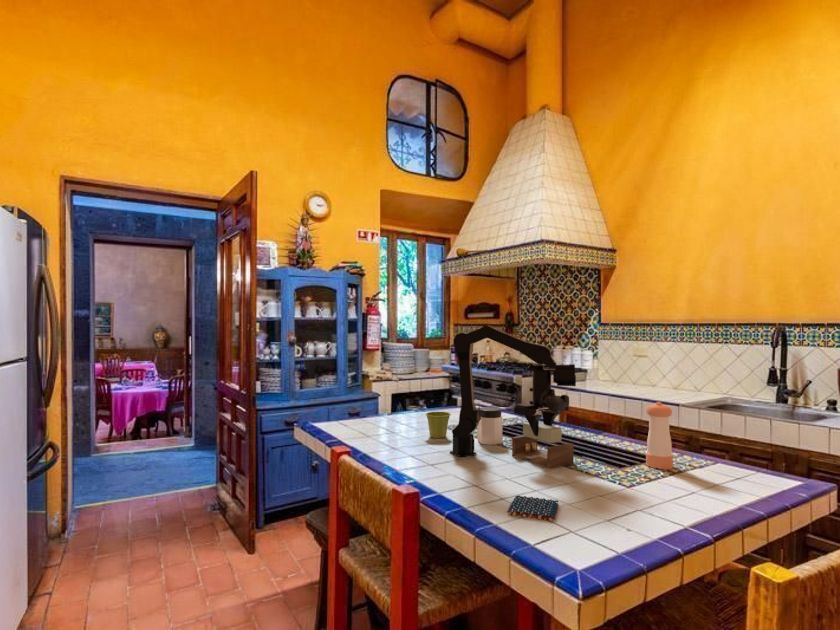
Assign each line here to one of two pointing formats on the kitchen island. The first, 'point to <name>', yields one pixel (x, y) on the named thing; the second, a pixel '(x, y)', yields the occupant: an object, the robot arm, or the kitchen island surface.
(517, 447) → the shelf frame
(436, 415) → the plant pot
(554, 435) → the beige rectangular block
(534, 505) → the woven mat
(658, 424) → the pepper shaker
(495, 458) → the kitchen island surface
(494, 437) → the jar
